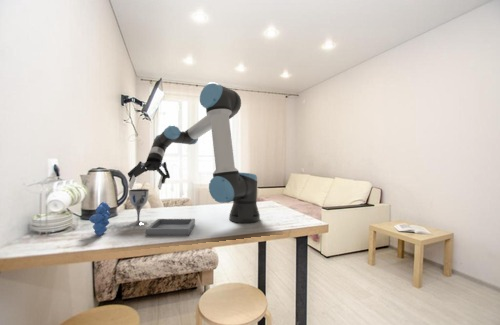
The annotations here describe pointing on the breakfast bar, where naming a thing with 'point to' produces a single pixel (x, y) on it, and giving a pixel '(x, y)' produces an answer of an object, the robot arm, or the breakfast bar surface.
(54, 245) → the breakfast bar surface
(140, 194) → the wine glass
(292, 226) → the breakfast bar surface
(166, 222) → the tray
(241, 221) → the robot arm
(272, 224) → the breakfast bar surface
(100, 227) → the grapes
